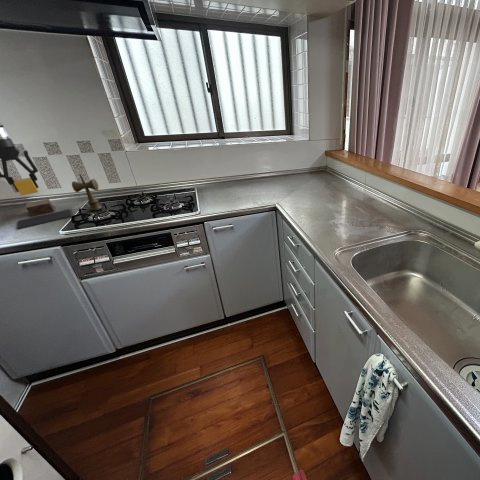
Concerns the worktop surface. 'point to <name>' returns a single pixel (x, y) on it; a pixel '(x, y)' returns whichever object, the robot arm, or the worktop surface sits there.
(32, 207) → the walnut block
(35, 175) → the robot arm
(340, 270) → the worktop surface
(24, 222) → the rubber mat
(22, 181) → the mustard cube
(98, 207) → the kendama
